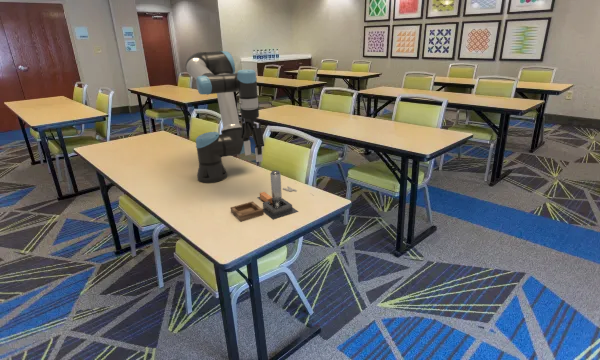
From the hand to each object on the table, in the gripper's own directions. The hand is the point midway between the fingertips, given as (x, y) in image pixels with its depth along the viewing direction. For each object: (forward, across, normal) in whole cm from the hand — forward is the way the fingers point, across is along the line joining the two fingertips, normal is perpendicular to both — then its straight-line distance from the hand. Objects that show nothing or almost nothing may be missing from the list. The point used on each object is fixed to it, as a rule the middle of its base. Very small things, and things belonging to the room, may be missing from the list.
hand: (253, 158), depth 158 cm
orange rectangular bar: (+18, +10, 0) cm, 21 cm away
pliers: (+18, +10, +15) cm, 26 cm away
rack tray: (+18, +16, -12) cm, 27 cm away
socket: (+18, +16, 0) cm, 24 cm away
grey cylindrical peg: (+17, +20, 0) cm, 26 cm away
